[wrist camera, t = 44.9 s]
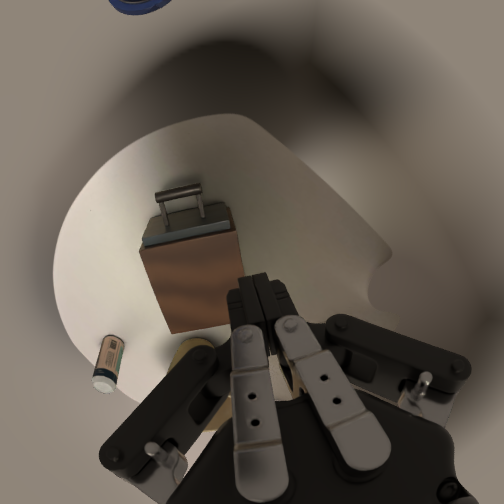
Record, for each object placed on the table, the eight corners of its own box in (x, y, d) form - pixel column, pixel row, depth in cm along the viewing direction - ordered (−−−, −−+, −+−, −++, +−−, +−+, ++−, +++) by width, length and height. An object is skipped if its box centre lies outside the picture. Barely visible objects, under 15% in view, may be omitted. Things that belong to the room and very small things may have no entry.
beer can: (99, 337, 50) (85, 381, 39) (116, 332, 50) (104, 378, 39) (111, 352, 52) (101, 396, 42) (128, 347, 52) (120, 393, 42)
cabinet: (149, 224, 41) (138, 251, 34) (229, 207, 43) (236, 230, 35) (174, 299, 49) (171, 334, 41) (243, 285, 50) (252, 319, 42)
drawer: (142, 188, 38) (131, 204, 32) (219, 171, 39) (222, 183, 32) (173, 291, 47) (170, 318, 40) (238, 278, 48) (245, 304, 41)
